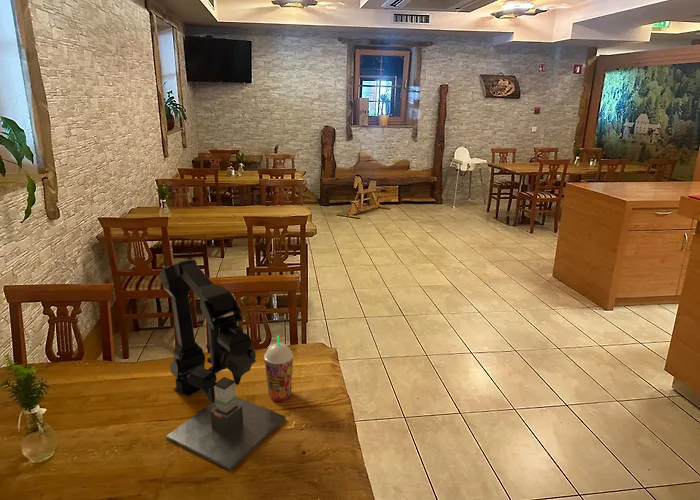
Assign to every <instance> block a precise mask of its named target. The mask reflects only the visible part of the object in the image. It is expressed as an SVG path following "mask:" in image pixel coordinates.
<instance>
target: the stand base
mask: <svg viewBox="0 0 700 500" xmlns="http://www.w3.org/2000/svg"><path fill="white" fill-rule="evenodd" d="M286 418H287V416H285V415H283V414H280V413H278V412H275V411H273V410H271V409H268V408H265V407H262V406H260V405H258V404H255V403H253V402H251V401H248V400H245V399H243V398H240V397H238V396H236V409H235V410H234V411H232V412H231V413H230V414H228V415H227V416H226V415H224V414H221V413H219V412H217V411H216V402H215V400H214V403H212V402H210V403H209V404H208V405H206V406H205V407H204V408H202V409H201V410H200V411H198V412H197V413H196V414H194V415H193V416H192V417H190V418H189V419H188V420H186V421H184V422H182V424H180V425H179V426H178V427H176V428H175V429H174V430H172V431H171V432H169V433H168V434H167V435H166V436H165V438H166V441H167V440H168V441H169V442H171V443H173V444H176V445H178V446H180V447H182V448H184V449H186V450H188V451H190V452H192V453H194V454H195V455H198V456H199V457H202V458H204V459H206V460H208V461H210V462H212V463H214V464H216V465H217V466H220V467H222V468H224V469H226V470H228V471H230V472H231V471H232V470H234V468H235V467H236V466H237V465H239V464H240V462H242V461H243V460H244V459H245V458H246V457H247V456H248V455H249V454H250V453H251V452H252V451H254V449H256V448H257V446H259V445H260V444H261V443H262V442H263V441H264V440H266V439H267V438H268V437H269V436H270V435H271V434H272V433H273V432H275V430H276V429H278V428H279V426H280V425H282V424H283V423H284V422H285V421H286Z"/></svg>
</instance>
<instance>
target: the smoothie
mask: <svg viewBox="0 0 700 500" xmlns="http://www.w3.org/2000/svg"><path fill="white" fill-rule="evenodd" d="M263 359H264V366H265V375H266V383H267V385H266V386H267V390H268V391H267V392H268V396H269V397H270V399H271V400H273V401H274V402H283V401H286V400H287V399H289V397H290V395H291V394H292V387H293V385H292V383H293V382H292V381H293V364H294V362H293V361H294V353H293V351H292V350H291V349H290V347H289V346H288V345H287V344H285V343H282V342H280V335H277V336H276V343H273V344H271V345H270V346H268V347H267V350H266V352H265V353H264V355H263Z"/></svg>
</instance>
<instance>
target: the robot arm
mask: <svg viewBox="0 0 700 500" xmlns="http://www.w3.org/2000/svg"><path fill="white" fill-rule="evenodd" d="M159 280H160V283H161V285H162V287H163V289H164V290H165V292H167V294H169V296H170V299H171V307H172V313H173V319H174V320H173V321H174V324H175V325H174V326H175V331H176V332H175V333H176V338H177V344H176V346H175V348H174V350H173V352H172V354H173V360H172V362H171V363H170V365H169V369H170V370H169V371H170V373H171V374H172V375H173V376H174V378H175V387H174V389H173V391H174V392H176V393H179V394H182V395H184V396H186V397H191V396H192V395H194V394H195V393H197V392H198V391H200V390H202V392H203V393H204V395H205V397H206V398H207V399H208V400H209V402H210V403H214V401H215V387H214V386H216V385H217V384H218V383H216V382H217V374H220V372H222V371H224V370H226V369H227V370H228V371H230V372H231V374H232V377H233V379H232V380H234V382H235V385H237V386H239V385H240V383H241V379H242V377H243V376H244V375H245V374H247V372H250V371H251V367H252V365H253V364H254V363H256V362H257V361H256V358H257V356H256V350H255V349H254V347H253V346H252V339H251V337H250V335H249V334H248V333H246V332H245V331H244V328H243V327H241V326H240V325H239V326H238V322H240V321H243V317H242V311H241V309H240V306H239V304H238V301H237V299H236V298H235V296H234V295H233V294H232V292H230V290H228V289H227V288H226V287H224V286H220V285H217V284H214V282H212V280H211V279H210V277H208V276H207V274H206V273H205V272H203V271H202V269H201V268H200V267H199V266H198V263H197V260H196V259H192V258H190V259H184V260H179V261H177V262H175V263H174V264H172V265H169V266H165V267H162V269H161V271H160V272H159ZM191 290H192V291H193V293H194V294H195V295H196V296H197V297H198V299H199V300H200V304H199V307H200V309H201V313H202V315H203V317H204V319H205V320H206V322H207V330H208V341H209V342H208V343H206V344H205V347H206V349H209V354H210V357H208V358H207V363H208V364H210V365H211V367H208V368H205V366H206V365H205V363H206V355H205V354H204V350H203V348H202V347H201V346H200V345H199V344H198V343H197V342H196V340H195V332H194V326H193V324H194V323H193V319H192V312H191V305H190V298H189V294H190V292H191ZM232 313H233V314H232ZM228 314H231V315H228ZM226 315H228V316H226Z"/></svg>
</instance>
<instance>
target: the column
mask: <svg viewBox="0 0 700 500" xmlns="http://www.w3.org/2000/svg"><path fill="white" fill-rule="evenodd" d="M216 383H218V384H217V385H216V386H214V394H215V400H214V401H215V402H216V411H217V412H219V413H221V414H224V415H226V416H227V415H228V414H230V413H231V412H232V411H234V410H235V409H236V397H237V396H236V386H235V385H236V384H235V382H234V379H232V378H228V377H226V376H223V377H222V378H220V379H219V380H218V381H217V380H216Z"/></svg>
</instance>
